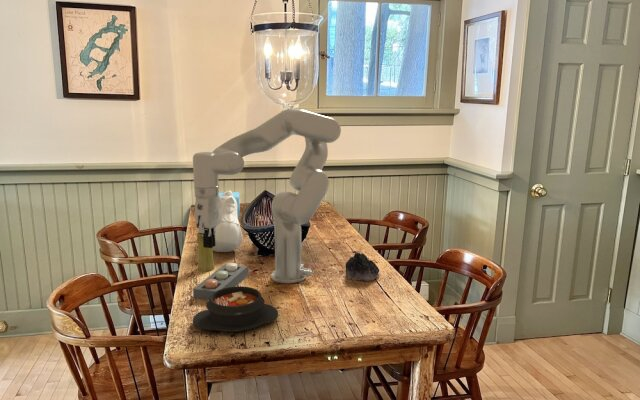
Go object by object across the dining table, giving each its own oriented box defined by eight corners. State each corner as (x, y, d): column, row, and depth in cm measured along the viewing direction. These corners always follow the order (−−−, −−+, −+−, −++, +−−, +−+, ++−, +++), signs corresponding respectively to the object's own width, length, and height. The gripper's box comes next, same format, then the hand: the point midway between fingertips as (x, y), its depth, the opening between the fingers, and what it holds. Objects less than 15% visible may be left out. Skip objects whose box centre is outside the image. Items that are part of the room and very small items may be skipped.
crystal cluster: (371, 268, 195) (369, 244, 193) (386, 278, 182) (384, 252, 180) (339, 275, 191) (336, 250, 189) (352, 286, 178) (350, 258, 176)
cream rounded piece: (239, 270, 184) (239, 263, 183) (234, 274, 180) (234, 267, 179) (229, 269, 185) (228, 262, 184) (224, 273, 181) (224, 266, 180)
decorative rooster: (243, 244, 200) (249, 188, 211) (203, 239, 196) (210, 182, 207) (235, 263, 222) (241, 211, 232) (199, 258, 218) (206, 206, 229)
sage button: (229, 278, 176) (229, 271, 176) (224, 282, 173) (224, 275, 172) (219, 277, 177) (219, 270, 177) (214, 281, 174) (213, 274, 173)
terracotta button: (219, 287, 169) (219, 279, 168) (214, 291, 165) (213, 284, 164) (208, 285, 170) (208, 278, 169) (203, 290, 166) (202, 283, 165)
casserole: (193, 343, 138) (192, 314, 136) (192, 313, 155) (190, 287, 153) (284, 331, 144) (283, 304, 142) (272, 304, 162) (272, 279, 160)
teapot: (219, 212, 273) (218, 187, 270) (240, 212, 275) (239, 187, 272) (217, 223, 252) (215, 197, 249) (239, 223, 254) (238, 196, 251)
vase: (210, 272, 189) (208, 235, 185) (195, 270, 190) (193, 234, 186) (216, 266, 194) (215, 230, 191) (202, 265, 196) (200, 229, 192)
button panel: (248, 275, 186) (247, 266, 185) (218, 301, 163) (218, 291, 162) (225, 272, 188) (225, 263, 187) (193, 298, 165) (193, 288, 165)
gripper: (206, 197, 152) (209, 255, 156) (228, 187, 166) (230, 240, 170) (183, 195, 154) (187, 253, 158) (207, 186, 168) (209, 238, 172)
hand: (209, 246), depth 164 cm, fingers closed
